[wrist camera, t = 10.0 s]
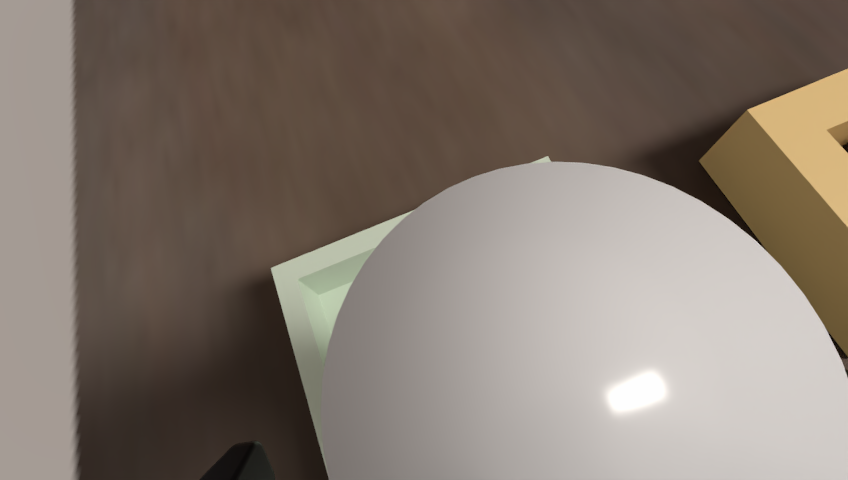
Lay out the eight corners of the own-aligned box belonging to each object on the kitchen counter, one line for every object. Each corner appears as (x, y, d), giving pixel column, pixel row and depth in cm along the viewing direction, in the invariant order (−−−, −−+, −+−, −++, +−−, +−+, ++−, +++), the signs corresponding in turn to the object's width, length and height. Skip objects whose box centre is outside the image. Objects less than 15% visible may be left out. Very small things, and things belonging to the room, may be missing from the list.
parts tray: (737, 548, 14) (804, 582, 11) (421, 695, 13) (409, 772, 11) (535, 192, 19) (547, 156, 16) (300, 288, 18) (270, 267, 16)
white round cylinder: (573, 391, 16) (958, 347, 3) (502, 494, 15) (685, 936, 2) (478, 318, 17) (512, 93, 5) (408, 408, 16) (219, 422, 4)
